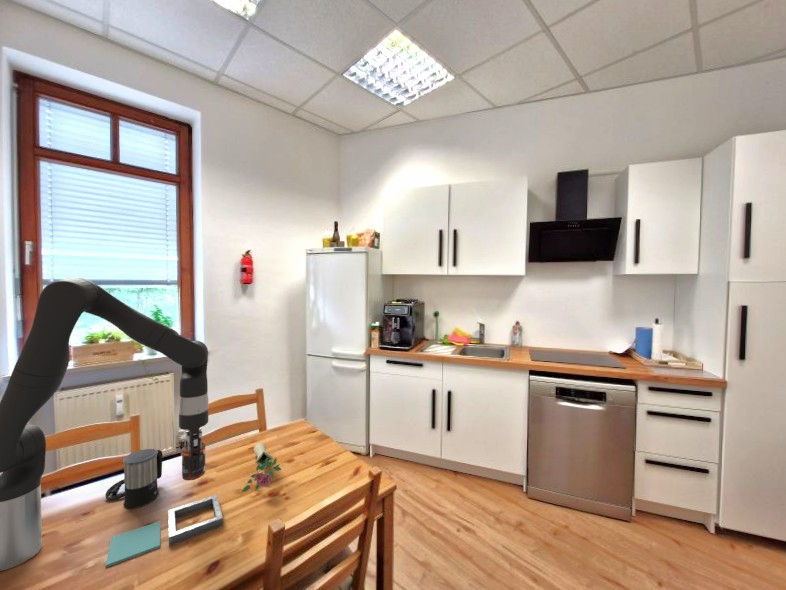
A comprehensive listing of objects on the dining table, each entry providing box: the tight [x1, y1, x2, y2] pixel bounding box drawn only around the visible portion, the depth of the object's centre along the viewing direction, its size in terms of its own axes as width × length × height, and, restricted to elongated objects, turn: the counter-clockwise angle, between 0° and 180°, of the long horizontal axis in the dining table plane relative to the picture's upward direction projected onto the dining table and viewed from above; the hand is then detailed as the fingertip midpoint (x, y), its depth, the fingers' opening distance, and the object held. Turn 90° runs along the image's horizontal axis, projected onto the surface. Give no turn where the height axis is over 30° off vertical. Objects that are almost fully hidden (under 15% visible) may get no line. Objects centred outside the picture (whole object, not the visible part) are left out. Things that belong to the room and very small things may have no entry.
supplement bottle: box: [181, 437, 206, 481], centre depth 96 cm, size 6×6×11 cm
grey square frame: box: [167, 494, 224, 547], centre depth 96 cm, size 13×13×2 cm
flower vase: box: [241, 442, 282, 492], centre depth 120 cm, size 12×12×35 cm
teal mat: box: [105, 520, 161, 568], centre depth 88 cm, size 11×11×1 cm
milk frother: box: [104, 448, 163, 509], centre depth 107 cm, size 14×16×15 cm
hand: (193, 465), depth 96 cm, fingers closed on supplement bottle, 6 cm apart
